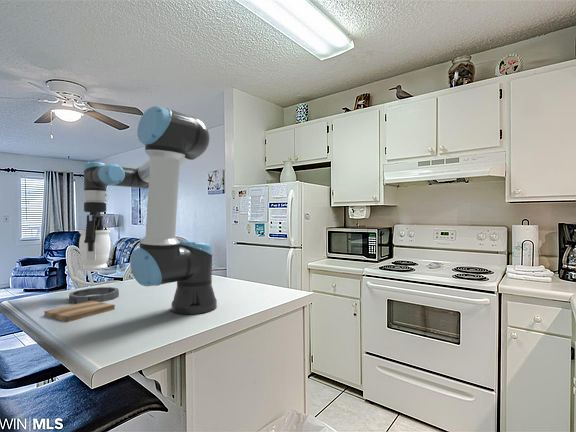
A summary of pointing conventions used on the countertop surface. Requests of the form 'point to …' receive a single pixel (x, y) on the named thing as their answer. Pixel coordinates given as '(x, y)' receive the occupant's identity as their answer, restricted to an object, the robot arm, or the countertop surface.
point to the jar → (101, 250)
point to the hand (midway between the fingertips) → (95, 258)
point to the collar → (81, 295)
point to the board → (79, 310)
